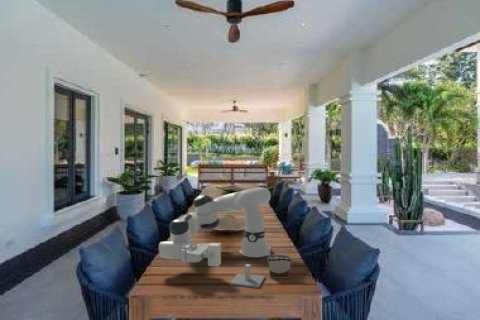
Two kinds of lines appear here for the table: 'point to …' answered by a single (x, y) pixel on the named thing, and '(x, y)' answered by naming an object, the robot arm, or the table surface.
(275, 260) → the food container
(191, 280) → the table surface
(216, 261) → the tall white pillar
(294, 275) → the table surface
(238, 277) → the post stand
